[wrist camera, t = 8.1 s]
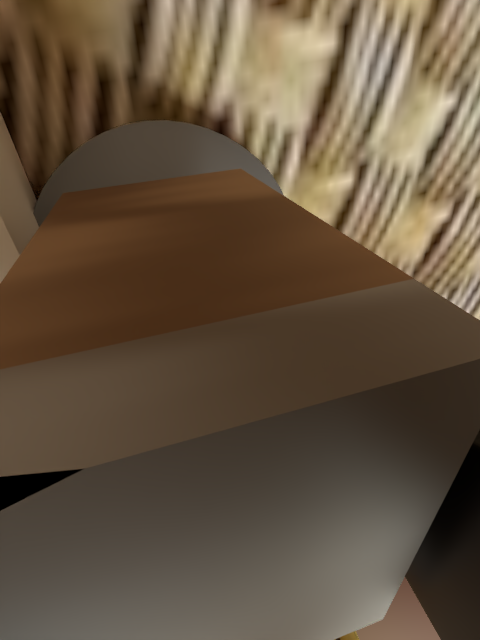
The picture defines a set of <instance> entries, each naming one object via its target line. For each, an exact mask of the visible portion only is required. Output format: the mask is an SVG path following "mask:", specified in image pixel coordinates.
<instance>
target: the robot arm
mask: <svg viewBox="0 0 480 640" xmlns="http://www.w3.org/2000/svg"><path fill="white" fill-rule="evenodd" d="M405 577H406V579H407V581H408V583H409V584H410V586H411V588H412V589H413V591H414V593H415V594H416V597H417V598H418V600H419V602H420V603H421V605H422V607H423V609H424V611H425V612H426V614H427V616H428V618H429V619H430V621H431V623H432V625H433V626H434V628H435V630H436V632H437V633H438V635H439V637H440V639H441V640H480V430H479V432H478V434H477V436H476V438H475V440H474V442H473V443H472V445H471V447H470V449H469V451H468V453H467V455H466V457H465V459H464V461H463V463H462V465H461V467H460V469H459V471H458V473H457V475H456V477H455V479H454V481H453V483H452V485H451V487H450V489H449V491H448V492H447V494H446V496H445V498H444V500H443V502H442V504H441V506H440V508H439V510H438V512H437V514H436V516H435V518H434V520H433V522H432V524H431V526H430V528H429V530H428V532H427V534H426V536H425V538H424V540H423V541H422V543H421V545H420V547H419V549H418V551H417V553H416V555H415V557H414V559H413V561H412V563H411V565H410V567H409V569H408V571H407V573H406V575H405Z"/></svg>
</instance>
